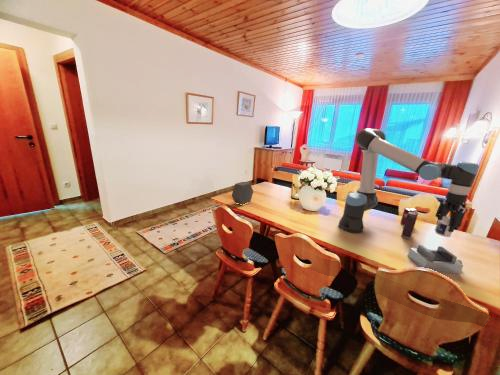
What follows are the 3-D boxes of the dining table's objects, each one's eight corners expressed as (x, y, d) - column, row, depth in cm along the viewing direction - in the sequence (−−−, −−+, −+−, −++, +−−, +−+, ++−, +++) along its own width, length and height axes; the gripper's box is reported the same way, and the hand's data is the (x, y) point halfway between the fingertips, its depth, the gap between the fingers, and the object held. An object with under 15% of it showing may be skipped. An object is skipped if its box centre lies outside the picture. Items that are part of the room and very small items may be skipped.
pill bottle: (432, 231, 113) (438, 215, 110) (441, 231, 114) (447, 215, 111) (442, 236, 108) (448, 219, 105) (451, 236, 109) (457, 220, 106)
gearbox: (423, 270, 98) (428, 256, 96) (407, 255, 109) (411, 242, 107) (468, 275, 96) (474, 260, 94) (447, 259, 108) (452, 246, 106)
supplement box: (410, 239, 127) (417, 215, 123) (400, 236, 130) (407, 213, 126) (411, 234, 133) (418, 212, 129) (402, 232, 136) (409, 209, 132)
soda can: (414, 227, 144) (419, 211, 141) (403, 226, 145) (407, 210, 142) (409, 223, 151) (413, 208, 147) (398, 221, 152) (402, 206, 149)
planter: (248, 193, 184) (240, 176, 170) (255, 195, 180) (248, 178, 166) (237, 207, 176) (229, 191, 162) (244, 210, 171) (236, 193, 158)
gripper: (483, 199, 95) (464, 243, 102) (450, 188, 112) (436, 226, 119) (466, 198, 95) (448, 242, 102) (435, 187, 113) (422, 225, 120)
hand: (442, 233), depth 111 cm, fingers closed on pill bottle, 5 cm apart
